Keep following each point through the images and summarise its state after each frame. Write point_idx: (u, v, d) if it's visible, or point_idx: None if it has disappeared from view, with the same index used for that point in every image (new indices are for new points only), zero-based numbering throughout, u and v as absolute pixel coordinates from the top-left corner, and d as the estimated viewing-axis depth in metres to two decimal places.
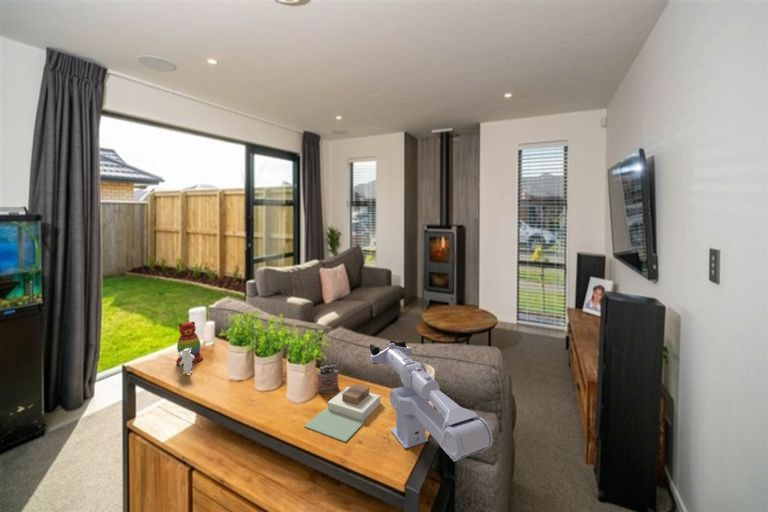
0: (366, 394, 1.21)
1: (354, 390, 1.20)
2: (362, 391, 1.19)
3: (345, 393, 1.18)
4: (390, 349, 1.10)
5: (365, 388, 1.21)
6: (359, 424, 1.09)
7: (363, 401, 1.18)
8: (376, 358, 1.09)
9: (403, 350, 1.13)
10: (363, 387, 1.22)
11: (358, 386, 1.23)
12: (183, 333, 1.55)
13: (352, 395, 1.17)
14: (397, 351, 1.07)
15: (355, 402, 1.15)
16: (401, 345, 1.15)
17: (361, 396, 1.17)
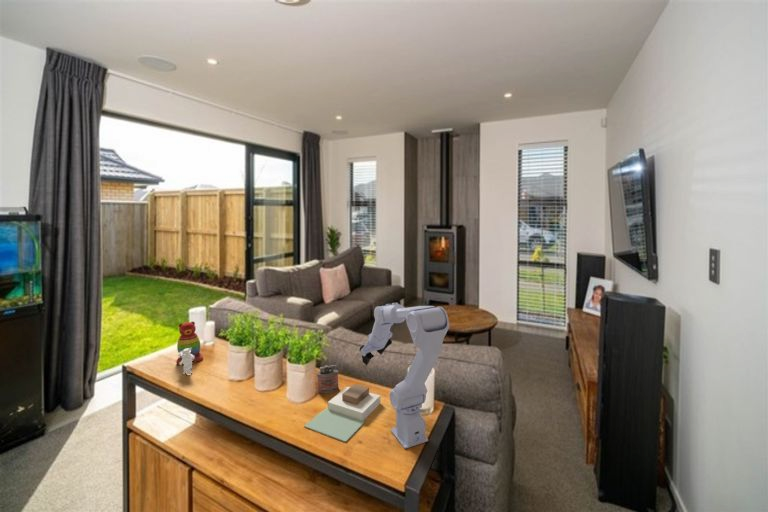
0: (366, 394, 1.21)
1: (354, 390, 1.20)
2: (362, 391, 1.19)
3: (345, 393, 1.18)
4: None
5: (365, 388, 1.21)
6: (359, 424, 1.09)
7: (363, 401, 1.18)
8: (365, 349, 1.17)
9: None
10: (363, 387, 1.22)
11: (358, 386, 1.23)
12: (183, 333, 1.55)
13: (352, 395, 1.17)
14: None
15: (355, 402, 1.15)
16: None
17: (361, 396, 1.17)
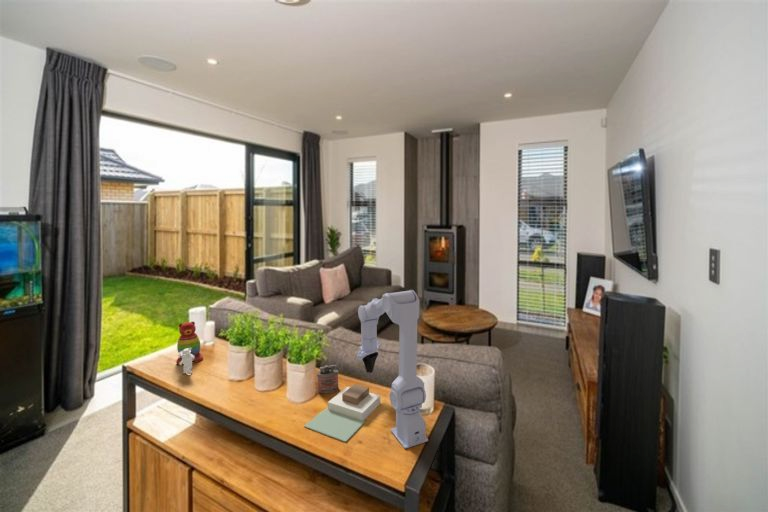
0: (366, 394, 1.21)
1: (354, 390, 1.20)
2: (362, 391, 1.19)
3: (345, 393, 1.18)
4: (361, 346, 1.27)
5: (365, 388, 1.21)
6: (359, 424, 1.09)
7: (363, 401, 1.18)
8: (360, 354, 1.22)
9: None
10: (363, 387, 1.22)
11: (358, 386, 1.23)
12: (183, 333, 1.55)
13: (352, 395, 1.17)
14: None
15: (355, 402, 1.15)
16: None
17: (361, 396, 1.17)
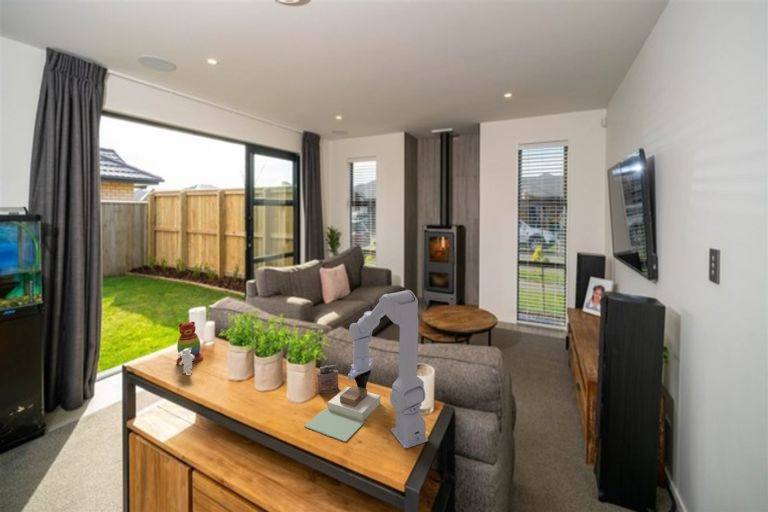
0: (364, 396, 1.19)
1: (351, 392, 1.19)
2: (360, 393, 1.18)
3: (343, 395, 1.17)
4: None
5: (363, 390, 1.20)
6: (359, 424, 1.09)
7: (363, 401, 1.18)
8: (352, 373, 1.18)
9: None
10: (361, 389, 1.21)
11: (356, 387, 1.22)
12: (183, 333, 1.55)
13: (349, 397, 1.16)
14: None
15: (353, 404, 1.14)
16: None
17: (358, 398, 1.16)
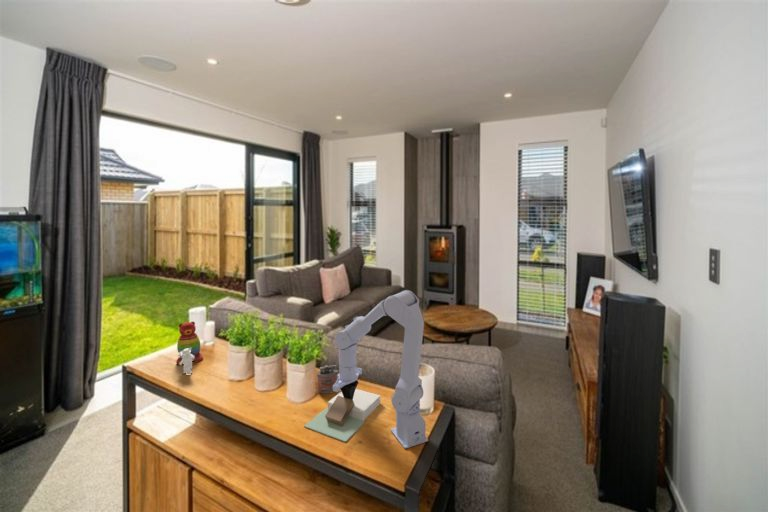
0: (351, 408, 1.12)
1: (337, 408, 1.11)
2: (345, 408, 1.11)
3: (328, 414, 1.10)
4: None
5: (349, 402, 1.12)
6: (359, 424, 1.09)
7: (363, 401, 1.18)
8: (337, 384, 1.10)
9: None
10: (347, 400, 1.13)
11: (342, 399, 1.14)
12: (183, 333, 1.55)
13: (335, 416, 1.09)
14: None
15: (340, 424, 1.08)
16: None
17: (344, 415, 1.09)
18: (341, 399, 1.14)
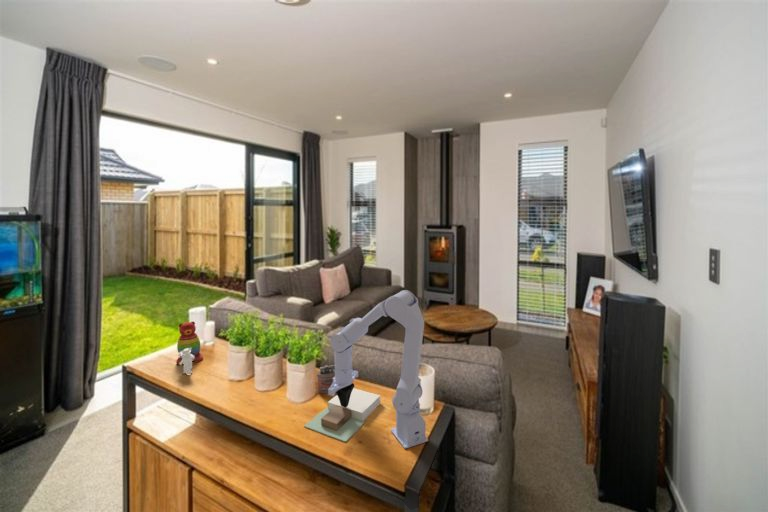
0: (348, 418, 1.11)
1: (334, 414, 1.10)
2: (343, 415, 1.10)
3: (324, 417, 1.09)
4: None
5: (347, 411, 1.12)
6: (359, 424, 1.09)
7: (363, 401, 1.18)
8: (333, 387, 1.08)
9: None
10: (344, 410, 1.13)
11: (340, 408, 1.14)
12: (183, 333, 1.55)
13: (331, 420, 1.07)
14: None
15: (335, 428, 1.06)
16: None
17: (341, 421, 1.08)
18: (339, 408, 1.13)
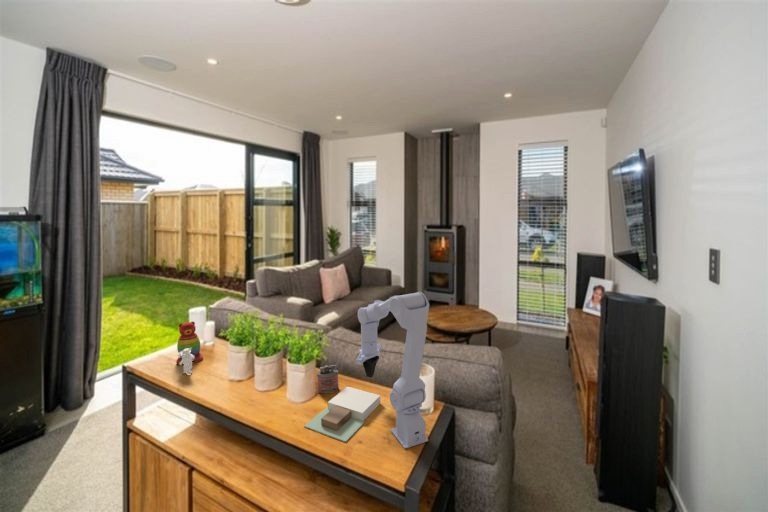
0: (348, 418, 1.11)
1: (334, 414, 1.10)
2: (343, 415, 1.10)
3: (324, 417, 1.09)
4: (361, 349, 1.22)
5: (347, 411, 1.12)
6: (359, 424, 1.09)
7: (363, 401, 1.18)
8: (360, 358, 1.17)
9: None
10: (344, 410, 1.13)
11: (340, 408, 1.14)
12: (183, 333, 1.55)
13: (331, 420, 1.07)
14: None
15: (335, 428, 1.06)
16: None
17: (341, 421, 1.08)
18: (339, 408, 1.13)
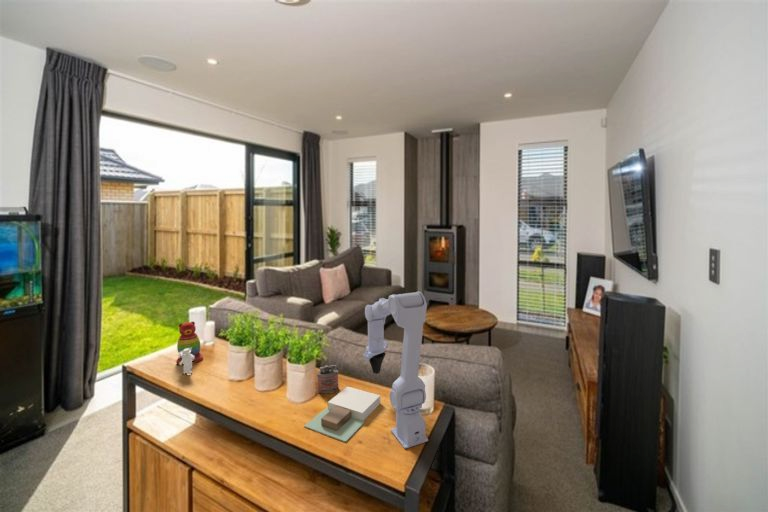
0: (348, 418, 1.11)
1: (334, 414, 1.10)
2: (343, 415, 1.10)
3: (324, 417, 1.09)
4: (368, 346, 1.24)
5: (347, 411, 1.12)
6: (359, 424, 1.09)
7: (363, 401, 1.18)
8: (367, 354, 1.19)
9: None
10: (344, 410, 1.13)
11: (340, 408, 1.14)
12: (183, 333, 1.55)
13: (331, 420, 1.07)
14: None
15: (335, 428, 1.06)
16: None
17: (341, 421, 1.08)
18: (339, 408, 1.13)
